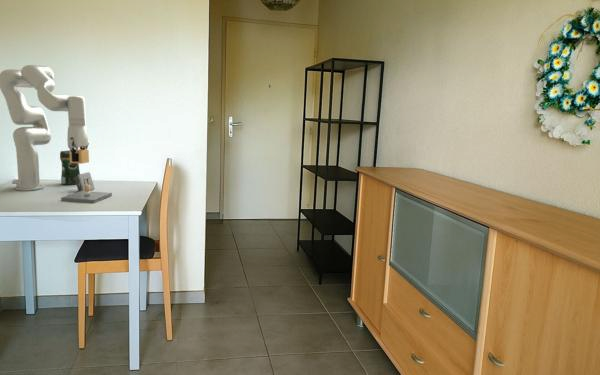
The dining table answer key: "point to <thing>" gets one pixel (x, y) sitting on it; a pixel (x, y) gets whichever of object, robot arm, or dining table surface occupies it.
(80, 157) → the tan cardboard cube
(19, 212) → the dining table surface
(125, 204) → the dining table surface
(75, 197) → the plate
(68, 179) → the coffee jar
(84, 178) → the electrical switch
